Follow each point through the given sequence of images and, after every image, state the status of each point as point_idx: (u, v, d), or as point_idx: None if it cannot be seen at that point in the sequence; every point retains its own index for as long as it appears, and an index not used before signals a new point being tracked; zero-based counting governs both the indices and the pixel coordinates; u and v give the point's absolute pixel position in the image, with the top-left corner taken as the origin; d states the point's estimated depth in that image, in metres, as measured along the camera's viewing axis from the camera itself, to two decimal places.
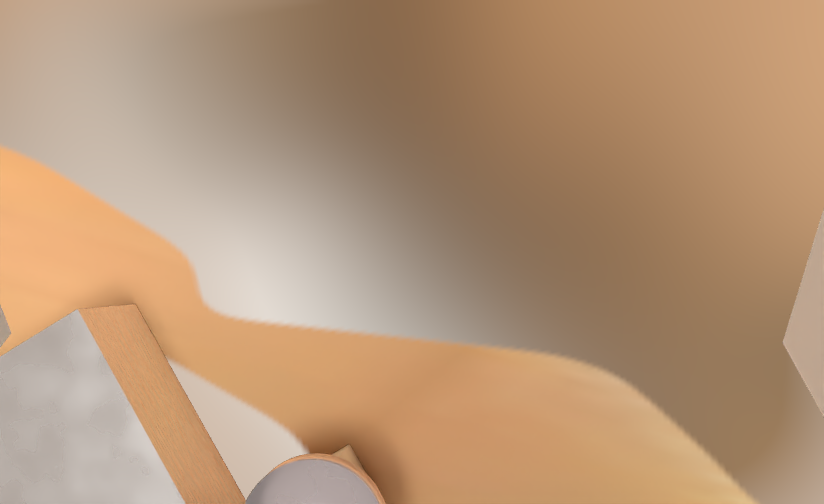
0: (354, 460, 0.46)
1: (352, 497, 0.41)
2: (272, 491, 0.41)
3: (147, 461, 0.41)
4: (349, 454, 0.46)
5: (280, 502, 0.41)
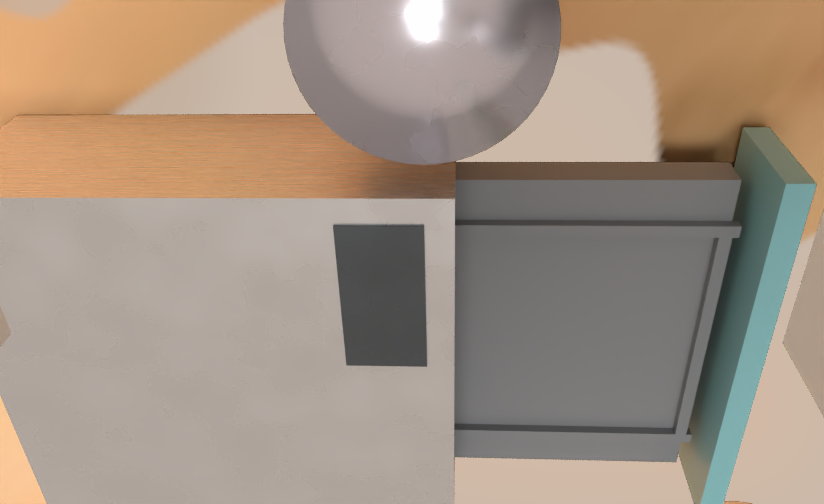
0: None
1: None
2: (318, 63, 0.23)
3: (186, 216, 0.25)
4: None
5: (342, 60, 0.23)
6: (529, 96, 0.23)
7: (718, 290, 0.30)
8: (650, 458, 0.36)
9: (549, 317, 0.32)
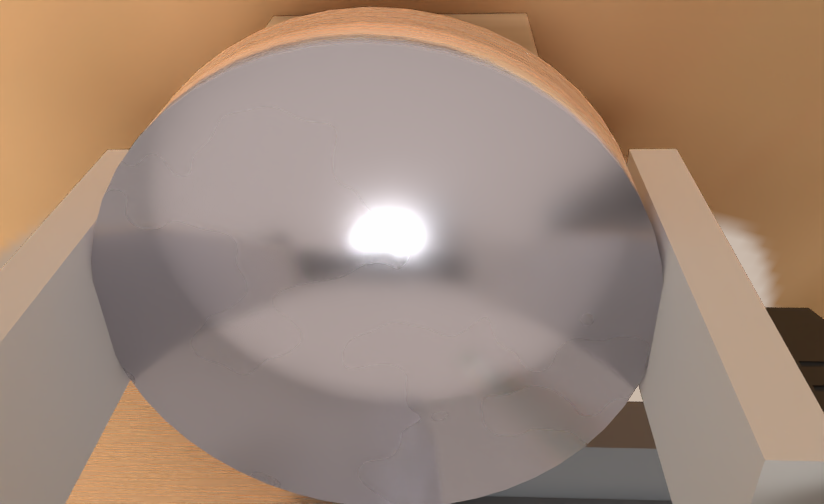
0: None
1: (305, 129, 0.09)
2: (172, 355, 0.11)
3: None
4: None
5: (218, 351, 0.11)
6: (590, 415, 0.12)
7: None
8: None
9: None
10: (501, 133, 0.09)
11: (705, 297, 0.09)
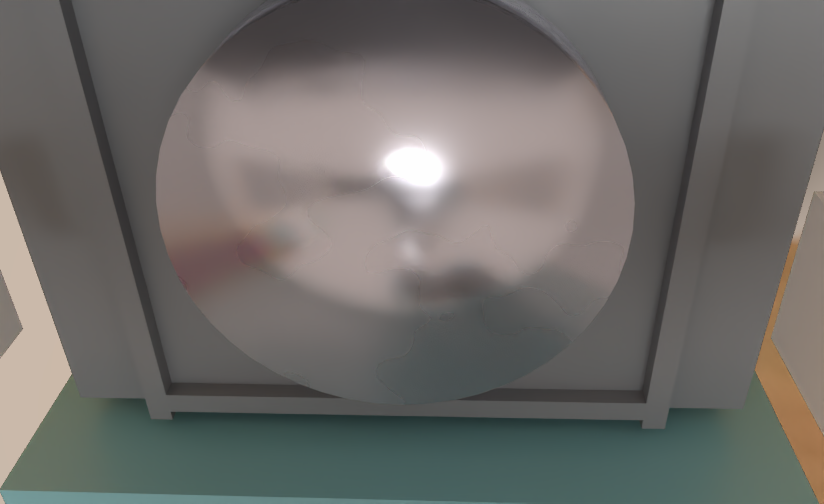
0: None
1: (339, 59, 0.11)
2: (220, 262, 0.13)
3: None
4: None
5: (260, 258, 0.13)
6: (575, 314, 0.14)
7: (525, 413, 0.17)
8: (74, 357, 0.17)
9: None
10: (499, 61, 0.11)
11: None
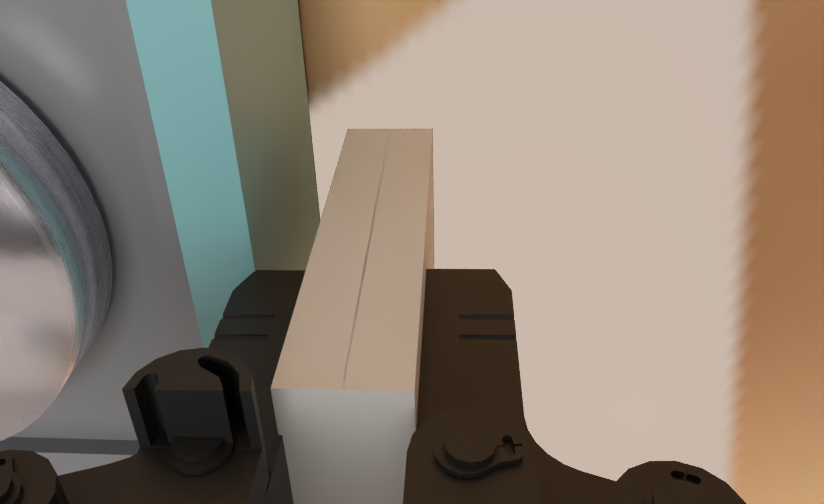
0: None
1: None
2: None
3: None
4: None
5: None
6: None
7: None
8: None
9: None
10: None
11: (375, 256, 0.10)
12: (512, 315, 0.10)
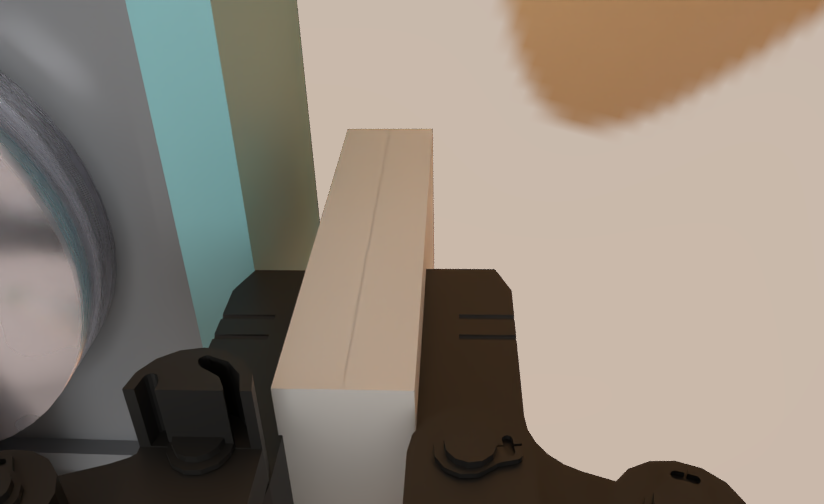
0: None
1: None
2: None
3: None
4: None
5: None
6: None
7: None
8: None
9: None
10: None
11: (375, 256, 0.10)
12: (512, 315, 0.10)
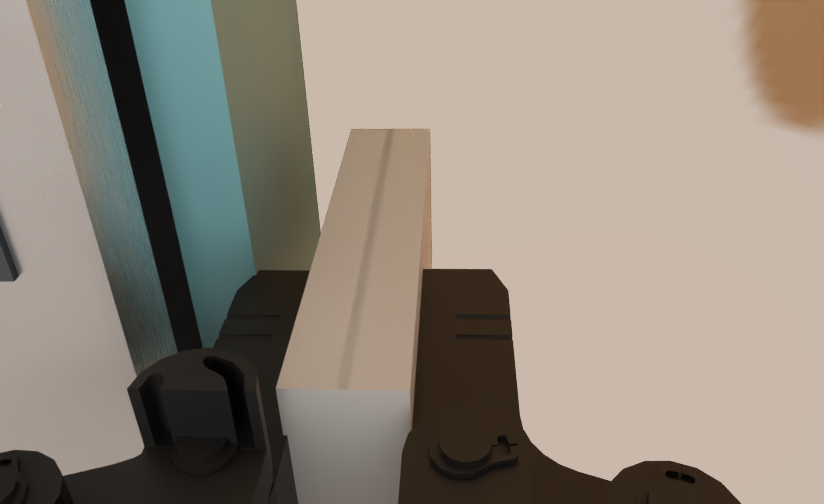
0: None
1: None
2: None
3: None
4: None
5: None
6: None
7: None
8: None
9: None
10: None
11: (372, 256, 0.10)
12: (509, 315, 0.10)
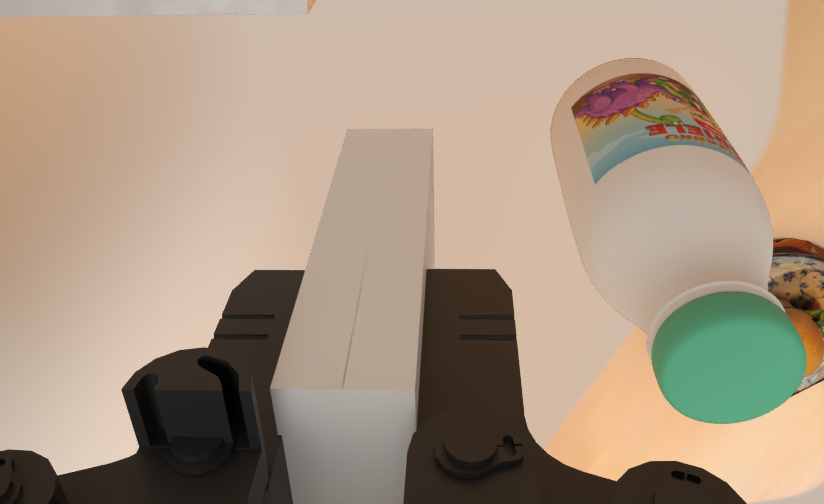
0: None
1: None
2: None
3: None
4: None
5: None
6: None
7: None
8: None
9: None
10: None
11: (375, 256, 0.10)
12: (512, 315, 0.10)
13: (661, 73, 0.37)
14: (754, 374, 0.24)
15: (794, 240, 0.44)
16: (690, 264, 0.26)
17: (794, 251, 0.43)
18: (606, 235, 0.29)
